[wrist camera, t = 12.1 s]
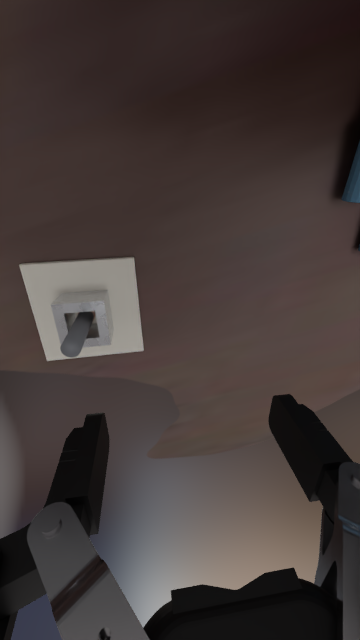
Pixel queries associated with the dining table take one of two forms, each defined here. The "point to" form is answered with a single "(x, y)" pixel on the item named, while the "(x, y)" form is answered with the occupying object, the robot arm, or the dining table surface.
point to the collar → (84, 302)
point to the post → (85, 276)
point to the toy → (353, 181)
